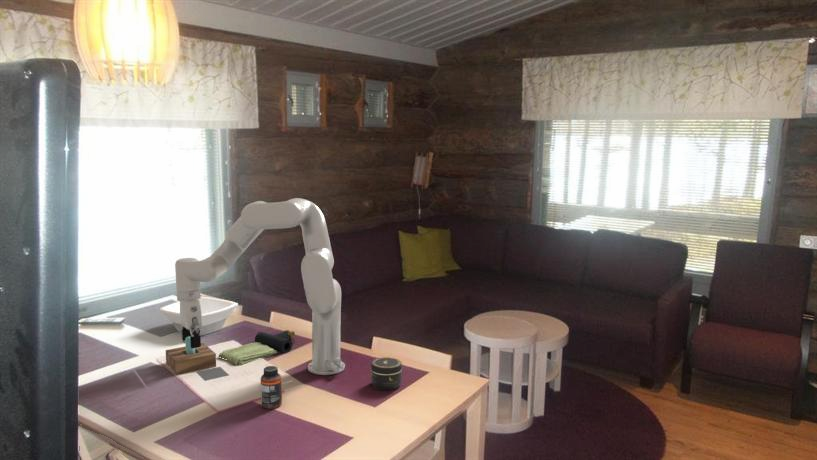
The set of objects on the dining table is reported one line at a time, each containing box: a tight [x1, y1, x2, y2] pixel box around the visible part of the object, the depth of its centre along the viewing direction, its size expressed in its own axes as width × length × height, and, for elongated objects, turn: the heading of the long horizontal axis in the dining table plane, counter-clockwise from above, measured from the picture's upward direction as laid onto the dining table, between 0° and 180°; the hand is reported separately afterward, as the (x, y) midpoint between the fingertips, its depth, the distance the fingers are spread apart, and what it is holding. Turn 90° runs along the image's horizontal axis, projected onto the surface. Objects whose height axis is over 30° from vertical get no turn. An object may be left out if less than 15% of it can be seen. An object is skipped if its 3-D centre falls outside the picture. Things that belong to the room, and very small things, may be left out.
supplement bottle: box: [260, 365, 283, 410], centre depth 168 cm, size 6×6×11 cm
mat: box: [196, 366, 230, 381], centre depth 191 cm, size 9×8×1 cm
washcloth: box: [218, 341, 278, 366], centre depth 208 cm, size 13×18×3 cm
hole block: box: [165, 342, 217, 376], centre depth 198 cm, size 13×13×5 cm
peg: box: [184, 336, 195, 355], centre depth 198 cm, size 3×3×10 cm
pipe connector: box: [254, 329, 296, 354], centre depth 220 cm, size 12×5×15 cm
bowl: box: [158, 296, 239, 337], centre depth 237 cm, size 24×25×10 cm
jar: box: [370, 356, 403, 391], centre depth 185 cm, size 10×10×8 cm
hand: (191, 343), depth 197 cm, fingers open, 9 cm apart
